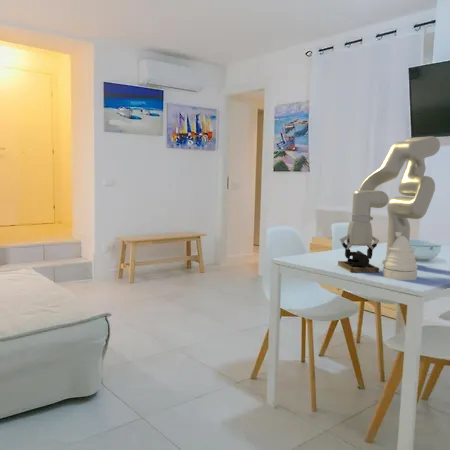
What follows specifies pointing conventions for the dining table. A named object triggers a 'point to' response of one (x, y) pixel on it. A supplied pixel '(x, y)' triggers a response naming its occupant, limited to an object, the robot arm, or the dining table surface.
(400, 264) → the honey pot
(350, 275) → the dining table surface
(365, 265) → the end cap
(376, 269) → the pocket tray
